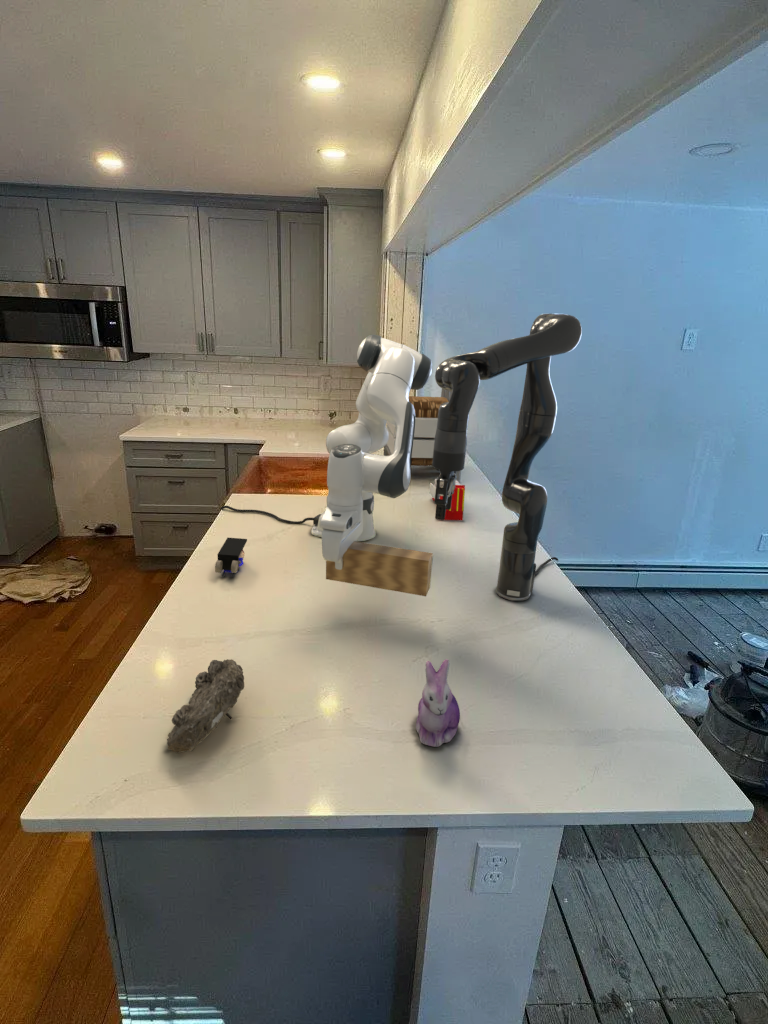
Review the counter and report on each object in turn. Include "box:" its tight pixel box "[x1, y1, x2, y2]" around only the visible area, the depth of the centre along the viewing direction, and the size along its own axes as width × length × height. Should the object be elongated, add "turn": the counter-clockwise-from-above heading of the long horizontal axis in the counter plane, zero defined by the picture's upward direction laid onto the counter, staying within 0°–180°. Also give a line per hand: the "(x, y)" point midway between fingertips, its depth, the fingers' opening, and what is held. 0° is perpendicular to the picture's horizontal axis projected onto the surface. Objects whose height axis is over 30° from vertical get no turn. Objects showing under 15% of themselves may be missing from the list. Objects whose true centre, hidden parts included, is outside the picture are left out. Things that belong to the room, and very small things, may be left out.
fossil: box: [166, 658, 245, 754], centre depth 106 cm, size 22×10×15 cm
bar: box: [325, 541, 434, 597], centre depth 140 cm, size 26×5×9 cm, turn 74°
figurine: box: [415, 658, 461, 748], centre depth 104 cm, size 9×10×15 cm
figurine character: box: [214, 537, 248, 578], centre depth 166 cm, size 7×8×15 cm
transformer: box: [383, 388, 462, 483], centre depth 268 cm, size 34×33×41 cm
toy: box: [428, 478, 466, 521], centre depth 226 cm, size 12×13×30 cm
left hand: (343, 563), depth 143 cm, fingers closed on bar, 5 cm apart
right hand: (443, 514), depth 137 cm, fingers open, 8 cm apart
